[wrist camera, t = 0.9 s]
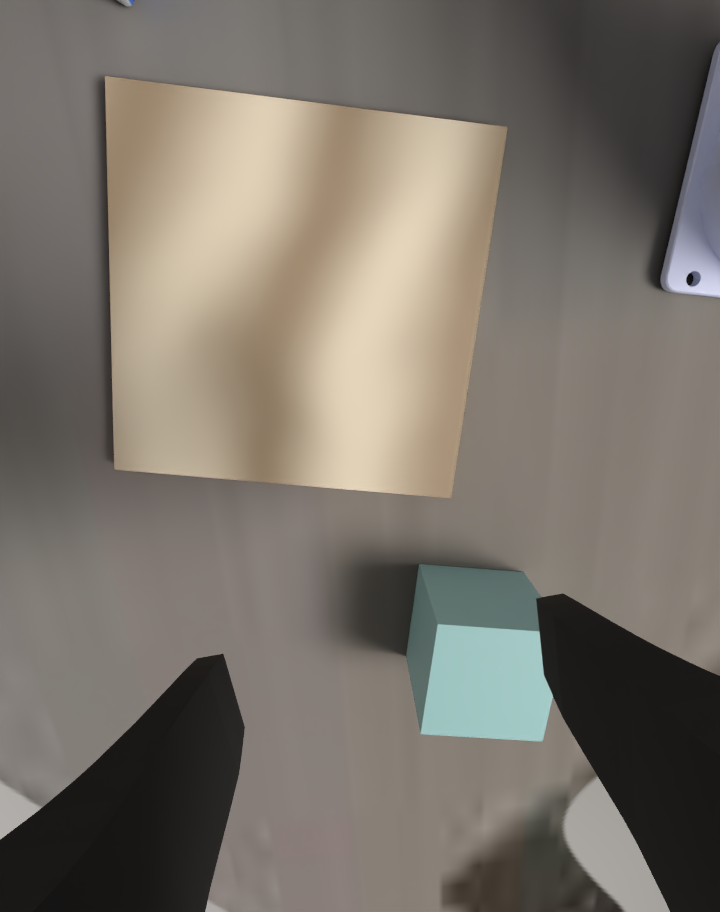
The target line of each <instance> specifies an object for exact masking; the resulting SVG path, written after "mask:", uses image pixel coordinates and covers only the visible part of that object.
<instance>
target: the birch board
mask: <svg viewBox="0 0 720 912" xmlns="http://www.w3.org/2000/svg"><path fill="white" fill-rule="evenodd" d="M105 98H106V141H107V183H108V226H109V268H110V311H111V353H112V396H113V438H114V470H125V471H137V472H148V473H160V474H172V475H184V476H196V477H207V478H219V479H231V480H243V481H255V482H266V483H278V484H290V485H302V486H314V487H325V488H337V489H349V490H361V491H373V492H384V493H396V494H408V495H420V496H432V497H443V498H451V494H452V488H453V481H454V475H455V468H456V462H457V455H458V449H459V442H460V436H461V429H462V423H463V416H464V410H465V403H466V396H467V390H468V383H469V377H470V370H471V364H472V357H473V351H474V344H475V338H476V331H477V325H478V318H479V312H480V305H481V299H482V292H483V285H484V279H485V272H486V266H487V259H488V253H489V246H490V240H491V233H492V227H493V220H494V214H495V207H496V201H497V194H498V187H499V181H500V174H501V168H502V161H503V155H504V148H505V142H506V135H507V129H508V127H503V126H496V125H488V124H480V123H472V122H464V121H456V120H448V119H440V118H432V117H424V116H417V115H409V114H401V113H393V112H385V111H377V110H369V109H361V108H353V107H345V106H338V105H330V104H322V103H314V102H306V101H298V100H290V99H282V98H274V97H266V96H259V95H251V94H243V93H235V92H227V91H219V90H211V89H203V88H195V87H187V86H180V85H172V84H164V83H156V82H148V81H140V80H132V79H124V78H116V77H108V76H105Z"/></svg>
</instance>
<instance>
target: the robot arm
mask: <svg viewBox="0 0 720 912" xmlns="http://www.w3.org/2000/svg"><path fill="white" fill-rule="evenodd" d="M689 273H692V275H693V282H692V284H691V285H690V286H689V285H688V284H687V282H686V278H687V276H688V274H689ZM660 282H661V285H662V288H663V289H664V290H665V291H668V292H671V293H680V294H689V295H698V296H707V297H716V298H720V42H719V44H718V45H717V46H716V48H715V51H714V53H713V57H712V62H711V66H710V70H709V74H708V78H707V83H706V87H705V91H704V95H703V100H702V104H701V108H700V112H699V117H698V121H697V125H696V129H695V134H694V138H693V142H692V146H691V151H690V155H689V159H688V163H687V167H686V172H685V176H684V180H683V184H682V189H681V193H680V197H679V201H678V206H677V210H676V214H675V218H674V223H673V227H672V231H671V235H670V240H669V244H668V248H667V252H666V256H665V261H664V265H663V269H662V273H661V281H660ZM536 602H537V612H538V622H539V632H540V642H541V652H542V662H543V672H544V676H545V679H546V681H547V683H548V686H549V688H550V690H551V692H552V695H553V697H554V699H555V701H556V704H557V706H558V708H559V710H560V712H561V714H562V717H563V719H564V720H565V722H566V724H567V725H568V727H569V729H570V731H571V732H572V734H573V736H574V737H575V739H576V741H577V742H578V744H579V746H580V747H581V749H582V751H583V752H584V754H585V756H586V757H587V759H588V761H589V762H590V764H591V766H592V767H593V769H594V771H595V772H596V774H597V776H598V777H599V779H600V781H601V782H602V784H603V786H604V787H605V789H606V791H607V792H608V794H609V796H610V797H611V799H612V801H613V802H614V803H615V805H616V807H617V809H618V810H619V812H620V814H621V815H622V817H623V819H624V821H625V822H626V824H627V826H628V828H629V830H630V831H631V833H632V835H633V837H634V839H635V840H636V842H637V844H638V846H639V848H640V850H641V852H642V854H643V856H644V858H645V860H646V862H647V865H648V867H649V869H650V870H651V873H652V875H653V877H654V879H655V881H656V883H657V885H658V887H659V889H660V891H661V893H662V895H663V897H664V899H665V901H666V903H667V906H668V908H669V910H670V912H720V676H719V675H716V674H714V673H711V672H709V671H707V670H705V669H702V668H700V667H698V666H696V665H694V664H691V663H689V662H687V661H685V660H683V659H681V658H679V657H677V656H675V655H673V654H671V653H669V652H667V651H665V650H663V649H661V648H659V647H657V646H655V645H653V644H651V643H649V642H647V641H645V640H644V639H642V638H640V637H638V636H636V635H634V634H633V633H631V632H629V631H627V630H625V629H624V628H622V627H620V626H618V625H617V624H615V623H613V622H611V621H610V620H608V619H606V618H604V617H603V616H601V615H599V614H598V613H596V612H594V611H592V610H591V609H589V608H587V607H586V606H584V605H582V604H581V603H579V602H577V601H575V600H574V599H572V598H570V597H568V596H566V595H565V594H558V595H553V596H547V597H541V598H536ZM244 729H245V727H244V723H243V720H242V716H241V713H240V710H239V706H238V703H237V699H236V696H235V692H234V689H233V686H232V682H231V679H230V675H229V672H228V668H227V665H226V661H225V658H224V655H223V654H220V655H214V656H208V657H203V658H197V659H196V660H195V661H194V662H193V663H192V664H191V665H190V666H189V667H188V668H187V669H186V670H185V671H184V672H183V673H182V674H181V675H180V676H179V677H178V678H177V679H176V680H175V681H174V683H173V684H172V685H171V686H170V687H169V688H168V689H167V690H166V691H165V692H164V693H163V694H162V695H161V696H160V697H159V698H158V700H157V701H156V702H155V703H154V704H153V705H152V706H151V707H150V708H149V709H148V710H147V711H146V712H145V713H144V714H143V715H142V716H141V717H140V718H139V719H138V720H137V722H136V723H135V724H134V725H133V726H132V727H131V728H130V729H129V730H127V731H126V732H125V733H124V734H123V735H122V736H121V737H120V738H119V739H118V740H117V741H116V742H115V743H114V744H113V745H112V746H111V747H110V748H109V749H108V750H107V751H106V752H105V753H104V754H103V755H102V756H101V757H100V758H99V759H98V760H97V761H96V762H95V763H93V764H92V765H91V766H90V767H89V768H88V769H87V770H86V771H85V772H84V773H82V774H81V775H80V776H79V777H78V778H77V779H76V780H75V781H73V782H72V783H71V784H70V785H69V786H68V787H66V788H65V789H64V790H63V791H62V792H60V793H59V794H58V795H57V796H56V797H55V798H53V799H52V800H51V801H50V802H49V803H47V804H46V805H45V806H44V807H43V808H41V809H40V810H39V811H38V812H36V813H35V814H34V815H32V816H31V817H30V818H28V819H27V820H26V821H25V822H23V823H22V824H20V825H19V826H18V827H17V828H15V829H14V830H13V831H11V832H10V833H9V834H7V835H6V836H5V837H4V838H2V839H1V840H0V912H205V909H206V905H207V900H208V895H209V891H210V886H211V883H212V879H213V875H214V871H215V867H216V863H217V859H218V855H219V851H220V847H221V843H222V839H223V836H224V832H225V828H226V824H227V820H228V816H229V812H230V808H231V804H232V800H233V796H234V792H235V788H236V784H237V779H238V775H239V769H240V762H241V755H242V746H243V737H244Z"/></svg>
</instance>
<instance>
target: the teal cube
mask: <svg viewBox="0 0 720 912" xmlns="http://www.w3.org/2000/svg"><path fill="white" fill-rule="evenodd" d="M536 598H541V596H540V595H539V593H538V592H537V590H536V589H535V588H534V586H533V585H532V583H531V582H530V581H529V579H528V578H527V576H526V575H525V574H524V572H516V571H503V570H490V569H477V568H464V567H451V566H438V565H425V564H419V569H418V576H417V583H416V590H415V597H414V604H413V611H412V618H411V625H410V632H409V640H408V647H407V654H406V658H407V663H408V669H409V674H410V680H411V685H412V690H413V696H414V701H415V706H416V712H417V717H418V723H419V728H420V733H421V734H427V735H444V736H461V737H478V738H495V739H512V740H528V741H543V737H544V732H545V728H546V724H547V719H548V715H549V711H550V706H551V702H552V698H553V695H552V692H551V690H550V688H549V686H548V683H547V681H546V679H545V676H544V672H543V662H542V652H541V642H540V632H539V622H538V612H537V602H536Z"/></svg>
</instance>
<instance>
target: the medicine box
mask: <svg viewBox="0 0 720 912" xmlns="http://www.w3.org/2000/svg"><path fill="white" fill-rule="evenodd" d="M117 1H119V2H120V3H122V4H123V5H125V6H128V7H129V6H132V4H133V2H134V0H117Z"/></svg>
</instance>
